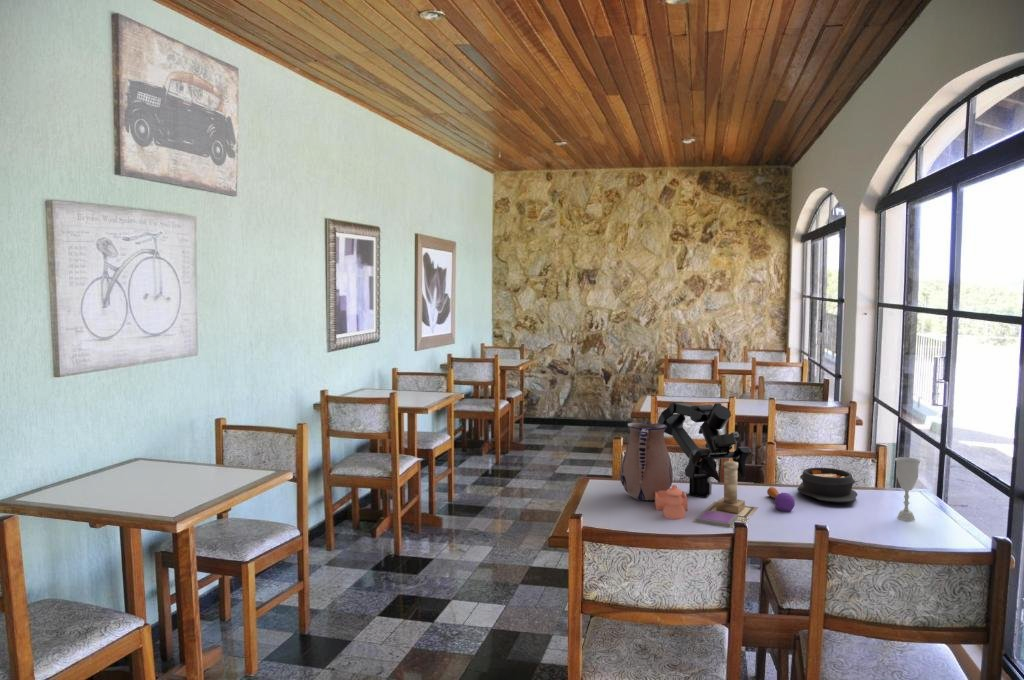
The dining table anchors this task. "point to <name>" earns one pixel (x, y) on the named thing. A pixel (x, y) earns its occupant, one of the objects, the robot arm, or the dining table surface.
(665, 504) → the pottery
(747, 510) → the stamp board
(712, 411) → the robot arm
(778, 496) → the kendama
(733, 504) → the stamp
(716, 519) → the ink pad
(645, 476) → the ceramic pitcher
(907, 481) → the chalice
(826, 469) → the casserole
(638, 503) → the dining table surface
